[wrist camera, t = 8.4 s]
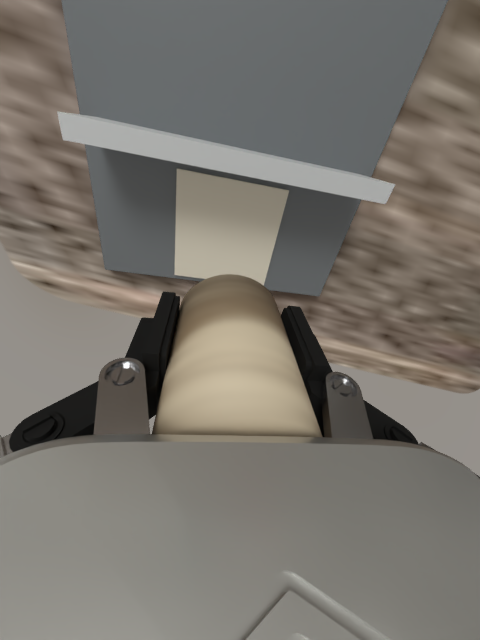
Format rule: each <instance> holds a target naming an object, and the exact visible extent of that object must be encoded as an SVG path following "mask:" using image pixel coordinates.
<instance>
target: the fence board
mask: <svg viewBox="0 0 480 640" xmlns="http://www.w3.org/2000/svg"><path fill="white" fill-rule="evenodd" d="M447 1H448V0H62V6H63V12H64V18H65V24H66V31H67V37H68V43H69V49H70V55H71V62H72V68H73V74H74V80H75V86H76V92H77V99H78V105H79V111H80V115H79V114H72V113H64V112H57V113H58V118H59V123H60V128H61V133H62V137H63V140H67V141H72V142H77V143H82V144H85V148H86V154H87V160H88V167H89V173H90V179H91V185H92V191H93V197H94V204H95V210H96V216H97V222H98V228H99V234H100V241H101V247H102V253H103V259H104V265H105V269H106V270H114V271H122V272H130V273H138V274H146V275H154V276H162V277H170V278H178V279H186V280H194V281H203V280H205V279H207V278H210V277H213V276H218V275H225V274H233V275H241V276H245V277H249V278H251V279H253V280H256V281H257V282H259V283H261V284H262V285H263V286H264V287H266V288H267V289H268V290H273V291H281V292H289V293H297V294H305V295H313V296H320V293H321V291H322V289H323V286H324V284H325V282H326V279H327V277H328V275H329V273H330V270H331V268H332V266H333V263H334V261H335V259H336V256H337V254H338V252H339V250H340V247H341V245H342V243H343V240H344V238H345V236H346V234H347V231H348V229H349V227H350V224H351V222H352V220H353V217H354V215H355V213H356V211H357V208H358V206H359V204H360V201H361V199H362V200H367V201H372V202H377V203H382V204H386V202H387V200H388V198H389V196H390V194H391V192H392V190H393V188H394V186H395V184H392V183H388V182H385V181H381V180H378V179H375V178H371V176H372V174H373V171H374V169H375V167H376V165H377V162H378V160H379V158H380V155H381V153H382V151H383V148H384V146H385V144H386V142H387V139H388V137H389V135H390V132H391V130H392V128H393V125H394V123H395V121H396V119H397V116H398V114H399V112H400V109H401V107H402V105H403V102H404V100H405V98H406V96H407V93H408V91H409V89H410V86H411V84H412V82H413V79H414V77H415V75H416V73H417V70H418V68H419V66H420V63H421V61H422V59H423V56H424V54H425V52H426V50H427V47H428V45H429V43H430V40H431V38H432V36H433V34H434V31H435V29H436V27H437V24H438V22H439V20H440V17H441V15H442V13H443V11H444V8H445V6H446V4H447Z"/></svg>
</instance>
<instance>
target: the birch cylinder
mask: <svg viewBox="0 0 480 640" xmlns="http://www.w3.org/2000/svg"><path fill="white" fill-rule="evenodd" d="M152 434H170V435H235V436H285V437H323V436H322V434H321V431H320V428H319V425H318V422H317V419H316V416H315V414H314V411H313V408H312V405H311V402H310V399H309V396H308V393H307V391H306V388H305V385H304V382H303V379H302V376H301V373H300V371H299V368H298V365H297V362H296V359H295V356H294V353H293V350H292V348H291V345H290V342H289V339H288V336H287V333H286V330H285V328H284V325H283V322H282V319H281V316H280V313H279V310H278V307H277V305H276V302H275V300H274V297H273V296H272V294H271V293H270V292H269V290H268V289H267V288H266V287H264V286H263V285H262V284H261V283H259V282H257V281H256V280H253V279H251V278H249V277H245V276H241V275H233V274H225V275H218V276H213V277H210V278H207V279H205V280H203V281H201V282H199V283H198V284H196V285H195V286H194V287H192V288H191V289H190V290H189V291H188V292H187V294H186V295H185V297H184V298H183V300H182V302H181V305H180V308H179V314H178V319H177V324H176V328H175V333H174V337H173V342H172V347H171V351H170V356H169V360H168V365H167V370H166V374H165V377H164V381H163V386H162V390H161V395H160V399H159V404H158V408H157V413H156V417H155V422H154V426H153V431H152Z"/></svg>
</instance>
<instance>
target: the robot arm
mask: <svg viewBox="0 0 480 640" xmlns="http://www.w3.org/2000/svg"><path fill="white" fill-rule="evenodd" d="M179 307H180V296H176V294H175V293H172V292H163V293H162V296H161V299H160V301H159V304H158V307H157V310H156V313H155V316H154V318H141V320H140V323H139V325H138V328H137V330H136V332H135V335H134V337H133V340H132V342H131V344H130V347H129V349H128V352H127V354H126V356H125V358H119V359H115V360H113V361H111V362H109V363H108V364H106V365H105V366H104V367H103V368H102V370H101V372H100V375H99V381H97V382H96V383H94V384H92V385H90V386H88V387H86V388H84V389H82V390H80V391H78V392H76V393H74V394H72V395H70V396H68V397H66V398H64V399H62V400H60V401H58V402H56V403H54V404H52V405H50V406H48V407H46V408H44V409H42V410H40V411H38V412H36V413H35V414H32V415H31V416H29V417H28V418H26V419H24V420H23V421H22V422H21V423H20V424H19V425H18V426H17V427H16V428H15V429H14V431H13V432H12V433H11V434H9V435H6V436H5V437H1V436H0V640H480V477H479V476H478V475H476V474H475V473H474V472H472V471H471V470H470V469H469V468H468V467H466V466H465V465H463V464H462V463H460V462H459V461H457V460H455V459H453V458H451V457H449V456H447V455H445V454H443V453H440V452H438V451H436V450H434V449H433V448H431V447H429V446H427V445H426V444H424V443H422V442H421V443H420V444H418V442H417V440H416V438H415V437H414V436H413V435H412V433H411V432H410V431H409V430H407V429H406V428H405V427H404V426H402V425H401V424H399V423H398V422H396V421H395V420H393V419H392V418H390V417H388V416H387V415H386V414H384V413H383V412H381V411H380V410H378V409H377V408H375V407H374V406H372V405H371V404H369V403H367V402H366V401H364V400H363V397H362V393H361V390H360V387H359V385H358V384H357V383H356V382H355V381H354V380H353V379H352V378H351V377H349V376H348V375H346V374H343V373H340V372H333V371H332V370H331V367H330V365H329V363H328V361H327V359H326V357H325V355H324V353H323V351H322V349H321V347H320V345H319V343H318V341H317V339H316V337H315V335H314V334H313V332H312V330H311V328H310V326H309V324H308V322H307V320H306V318H305V316H304V314H303V312H302V310H301V308H300V307H296V306H288V307H287V308H284V309H283V312H282V315H281V319H282V322H283V325H284V328H285V330H286V333H287V336H288V339H289V342H290V345H291V348H292V350H293V353H294V356H295V359H296V362H297V365H298V368H299V371H300V373H301V376H302V379H303V382H304V385H305V388H306V391H307V393H308V396H309V399H310V402H311V405H312V408H313V411H314V414H315V416H316V419H317V422H318V425H319V428H320V431H321V434H322V436H323V437H285V436H235V435H170V434H150V428H149V419H150V418H152V417H153V416H155V415H156V413H157V408H158V404H159V399H160V395H161V390H162V386H163V381H164V377H165V374H166V370H167V365H168V360H169V356H170V351H171V347H172V342H173V337H174V333H175V328H176V324H177V319H178V314H179Z"/></svg>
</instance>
